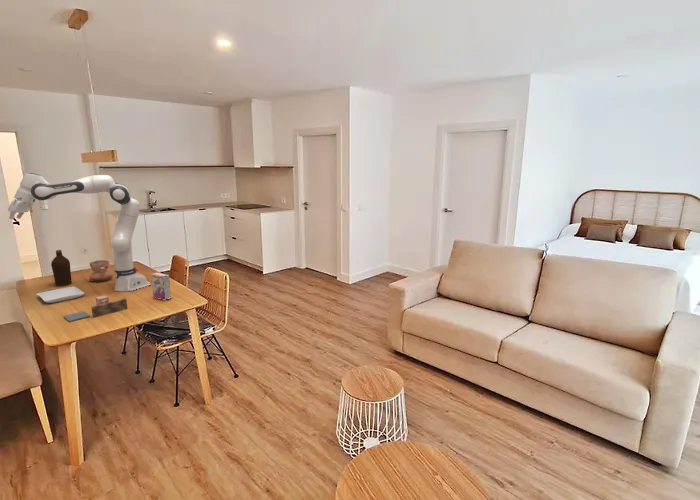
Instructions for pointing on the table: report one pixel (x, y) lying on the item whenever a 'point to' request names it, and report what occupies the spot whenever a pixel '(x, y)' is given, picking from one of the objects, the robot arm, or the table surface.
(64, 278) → the olive oil
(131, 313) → the table surface
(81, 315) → the charcoal mat
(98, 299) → the pink block
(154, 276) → the candy bar box
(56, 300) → the salad plate
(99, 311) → the walnut screen
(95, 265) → the ceramic jug
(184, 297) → the table surface
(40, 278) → the table surface
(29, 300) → the table surface
